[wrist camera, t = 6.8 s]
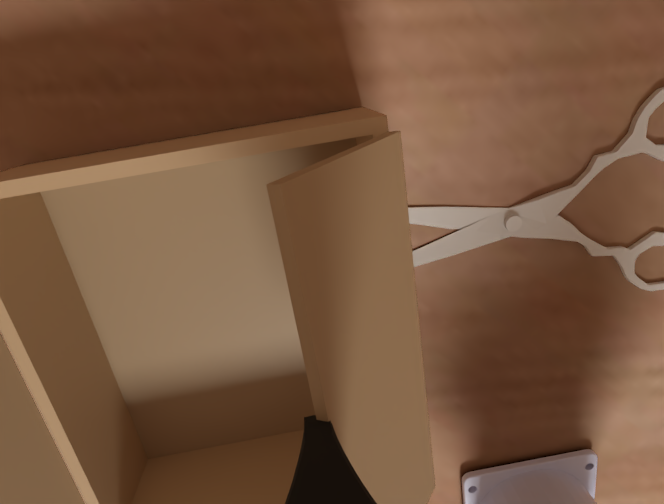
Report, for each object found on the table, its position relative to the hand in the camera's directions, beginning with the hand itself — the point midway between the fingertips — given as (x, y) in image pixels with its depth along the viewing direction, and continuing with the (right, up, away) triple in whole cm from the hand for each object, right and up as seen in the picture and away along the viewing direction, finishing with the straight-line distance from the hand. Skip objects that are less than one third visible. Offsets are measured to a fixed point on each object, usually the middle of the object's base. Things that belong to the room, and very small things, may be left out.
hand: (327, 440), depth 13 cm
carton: (-4, +3, +9) cm, 10 cm away
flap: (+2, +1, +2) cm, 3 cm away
